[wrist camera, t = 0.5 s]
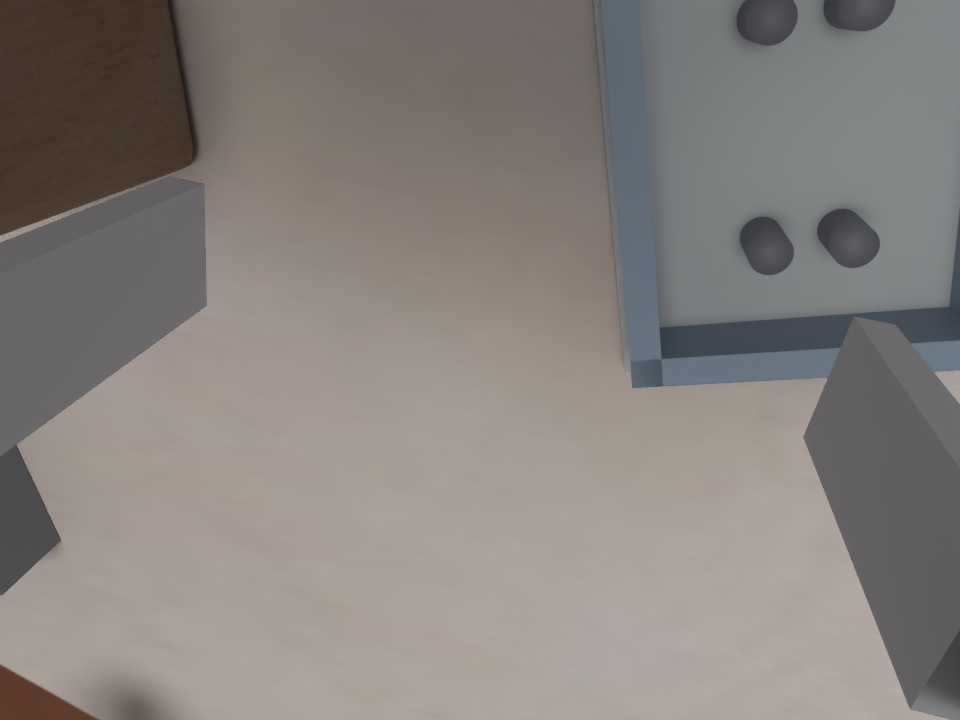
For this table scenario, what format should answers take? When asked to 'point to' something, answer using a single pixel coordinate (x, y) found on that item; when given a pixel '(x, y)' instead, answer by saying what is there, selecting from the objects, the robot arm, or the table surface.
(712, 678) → the table surface
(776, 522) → the table surface
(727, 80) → the peg frame
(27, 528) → the camera corral
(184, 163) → the wooden block
